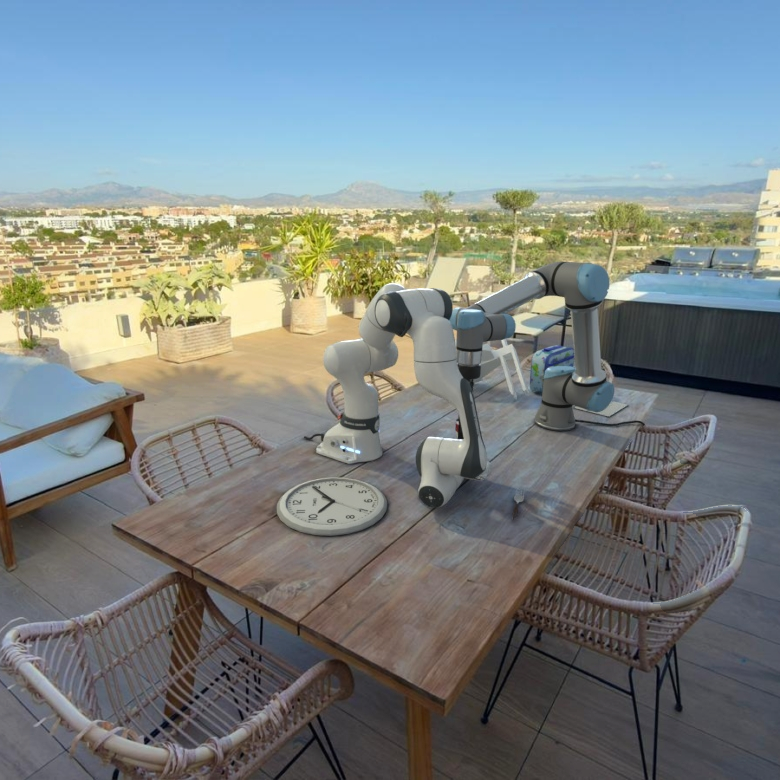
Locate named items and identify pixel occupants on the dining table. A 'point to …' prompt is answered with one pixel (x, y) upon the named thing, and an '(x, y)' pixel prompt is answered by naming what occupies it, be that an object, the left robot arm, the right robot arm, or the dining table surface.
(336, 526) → the wall clock
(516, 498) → the fork
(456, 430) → the lid
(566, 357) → the lunch box
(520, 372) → the white plastic object
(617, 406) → the invitation card
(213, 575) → the dining table surface
